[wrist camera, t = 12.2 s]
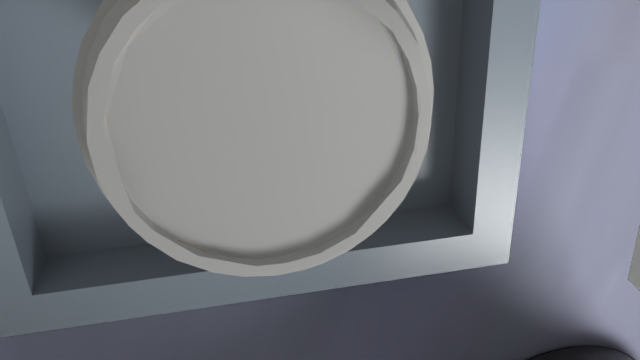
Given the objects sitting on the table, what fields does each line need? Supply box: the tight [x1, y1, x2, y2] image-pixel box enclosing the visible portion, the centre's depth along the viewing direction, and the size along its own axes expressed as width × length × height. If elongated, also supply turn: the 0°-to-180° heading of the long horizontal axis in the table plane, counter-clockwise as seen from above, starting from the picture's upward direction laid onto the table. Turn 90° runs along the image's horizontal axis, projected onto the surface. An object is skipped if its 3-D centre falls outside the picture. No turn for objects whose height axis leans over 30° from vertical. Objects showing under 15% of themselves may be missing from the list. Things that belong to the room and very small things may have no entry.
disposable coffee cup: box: [72, 0, 434, 277], centre depth 20 cm, size 10×10×12 cm
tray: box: [0, 0, 541, 338], centre depth 25 cm, size 24×24×4 cm
